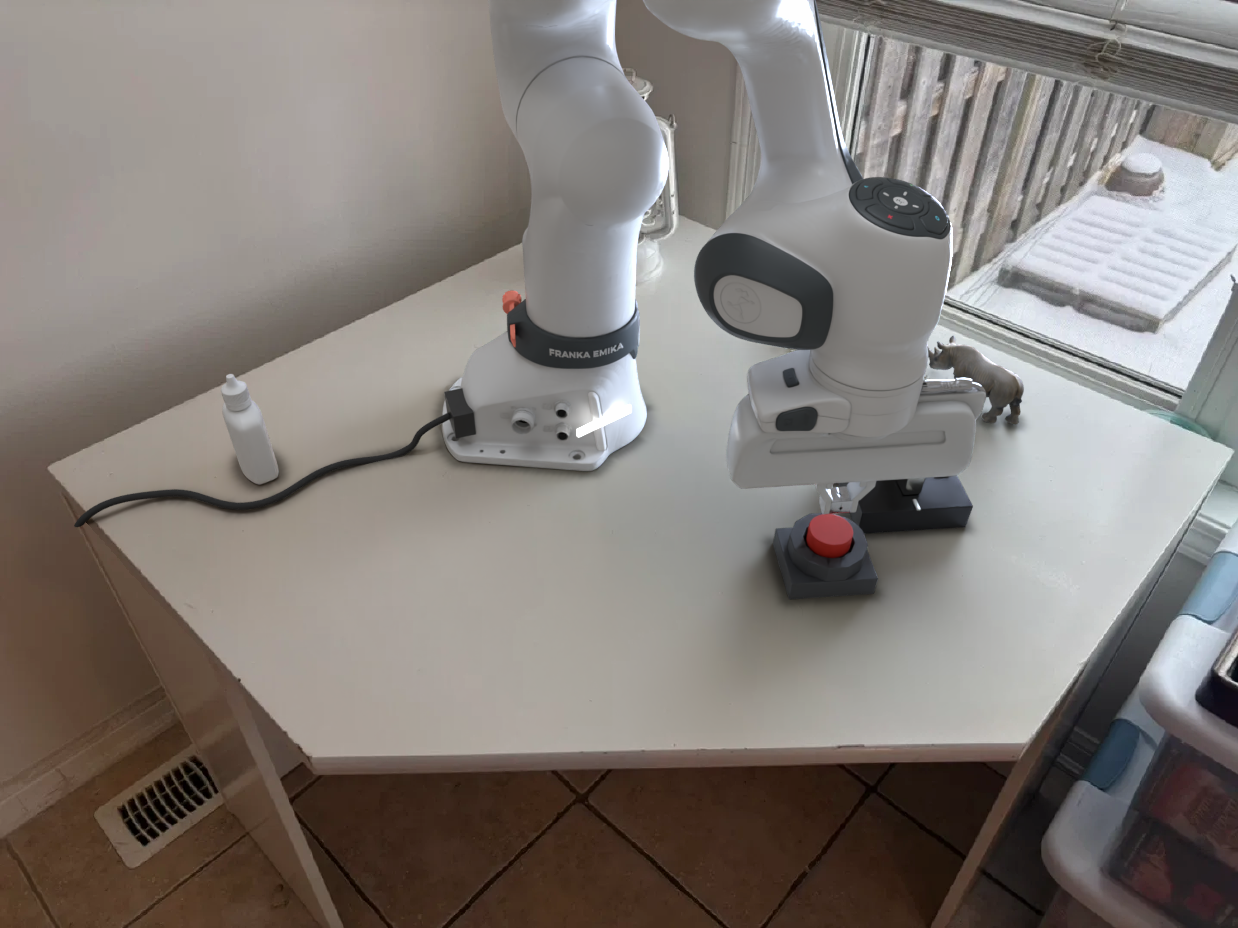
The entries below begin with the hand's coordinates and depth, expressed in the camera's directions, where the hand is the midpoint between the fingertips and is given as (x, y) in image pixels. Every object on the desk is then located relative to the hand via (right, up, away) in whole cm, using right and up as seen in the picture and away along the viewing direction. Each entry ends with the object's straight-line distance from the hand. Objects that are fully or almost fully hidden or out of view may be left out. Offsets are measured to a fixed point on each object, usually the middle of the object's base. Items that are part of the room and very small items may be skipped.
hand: (836, 508), depth 86 cm
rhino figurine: (+20, +12, +26) cm, 35 cm away
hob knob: (+9, +3, +11) cm, 14 cm away
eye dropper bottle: (-57, +3, +15) cm, 59 cm away
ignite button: (0, -3, +4) cm, 5 cm away
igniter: (0, -6, +6) cm, 8 cm away
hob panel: (+9, 0, +13) cm, 16 cm away
